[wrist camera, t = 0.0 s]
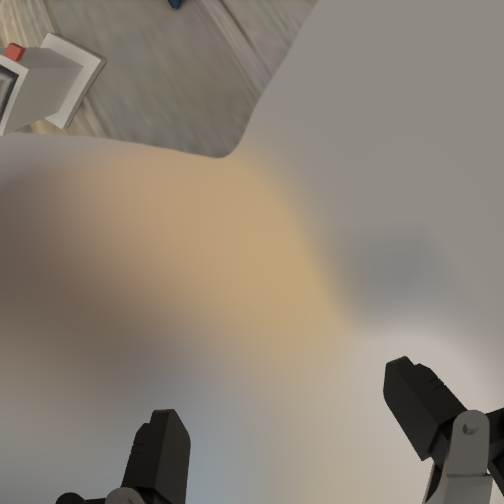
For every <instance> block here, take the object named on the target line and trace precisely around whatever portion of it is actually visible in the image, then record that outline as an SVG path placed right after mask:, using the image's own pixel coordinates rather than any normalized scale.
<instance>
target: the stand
mask: <svg viewBox="0 0 504 504" xmlns="http://www.w3.org/2000/svg"><path fill="white" fill-rule="evenodd" d="M106 61H107V60H105V59H103V58H102V57H100V56H98V55H96V54H94V53H92V52H91V51H89V50H87V49H85V48H83V47H81V46H79V45H77V44H75V43H73V42H71V41H69V40H67V39H65V38H63V37H61V36H59V35H57V34H54V33H48V34H47V36H46V37H45V39H44V41H43V42H42V44H41V46H40V48H23V47H21V46H19V45H17V44H15V43H9V45H8V47H7V48H0V64H1V65H2V66H4V67H6V68H8V69H10V70H11V71H13V72H15V73H17V74H18V75H19V77H18V79H17V82H16V84H15V86H14V88H13V91H12V93H11V96H10V98H9V101H8V103H7V106H6V109H5V111H4V114H3V117H2V119H0V135H1V136H4V135H6V134H8V133H10V132H12V131H14V130H17V129H19V128H21V127H23V126H26V125H28V124H30V123H33V122H35V121H37V120H40V119H42V118H44V119H46V120H48V121H49V122H51V123H53V124H54V125H56V126H57V127H59V128H61V129H64V128H66V127H69V125H70V123H71V121H72V119H73V117H74V115H75V113H76V111H77V109H78V108H79V106H80V104H81V102H82V100H83V98H84V97H85V95H86V93H87V92H88V90H89V88H90V86H91V85H92V83H93V81H94V80H95V78H96V77H97V75H98V73H99V72H100V70H101V69H102V67H103V66H104V64H105V63H106Z"/></svg>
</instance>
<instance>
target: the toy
mask: <svg viewBox="0 0 504 504" xmlns="http://www.w3.org/2000/svg"><path fill="white" fill-rule="evenodd" d="M168 1H169V3H170V4H171V6H172V8H178V7H179V6H180V3H181V0H168Z"/></svg>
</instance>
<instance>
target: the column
mask: <svg viewBox="0 0 504 504" xmlns="http://www.w3.org/2000/svg"><path fill="white" fill-rule="evenodd" d="M18 77H19V75H18V74H17V73H15V72H13V71H11V70H10V69H8V68H6V67H4V66H2V65H1V64H0V119H2V117H3V114H4V111H5V109H6V106H7V103H8V101H9V98H10V96H11V93H12V91H13V88H14V86H15V84H16V82H17V79H18Z"/></svg>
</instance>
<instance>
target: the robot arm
mask: <svg viewBox="0 0 504 504" xmlns="http://www.w3.org/2000/svg"><path fill="white" fill-rule="evenodd" d="M383 394H384V398H385V401H386V403H387V405H388V407H389V408H390V410H391V411H392V413H393V415H394V416H395V418H396V419H397V421H398V423H399V424H400V426H401V428H402V429H403V431H404V432H405V434H406V436H407V437H408V439H409V441H410V442H411V444H412V446H413V447H414V449H415V451H416V452H417V454H418V456H419V457H420V459H421V461H424V460H425V459H427V458H429V457H432V459H433V460H434V462H433V465H432V470H431V474H430V478H429V482H428V485H427V489H426V492H425V496H424V499H423V502H422V504H489V502H490V496H491V489H492V482H493V480H492V477H493V479H494V480H495V482H496V484H497V485H498V487H499V489H500V491H501V493H502V494H503V496H504V408H501V409H499V410H496V411H493V412H490V413H486V414H484V413H482V412H480V411H478V410H467V409H466V408H465V407H464V406H463V405H462V403H461V402H460V401H459V400H458V399H457V398H456V397H455V395H454V394H453V393H452V392H451V391H450V390H449V389H448V388H447V386H446V385H444V383H443V382H442V381H441V380H440V379H438V377H437V375H436V374H435V373H434V372H433V371H432V370H431V369H430V368H428V367H426V366H424V365H422V364H420V363H419V364H417V365H414V364H413V363H412V362H411V361H410V360H409V358H408V357H406V356H403V357H401V358H398V359H396V360H393V361H390V362H388V363H387V364H386V369H385V379H384V388H383ZM133 444H134V445H133V446H132V449H131V454H130V456H129V460H128V463H127V467H126V470H125V474H124V478H123V481H122V485H121V487H120V488H117V489H115V490H113V491H111V492H110V493H109V494H108V496H107V497H106V498H100V499H90V500H85V499H83V498H82V497H80V496H79V495H78V494H76V493H65V494H63V495H61V496H60V497H59V498H58V500H57V501H56V504H185V499H186V487H187V477H188V476H187V475H188V466H189V457H190V447H191V444H190V437H189V434H188V432H187V430H186V428H185V427H184V425H183V423H182V422H181V420H180V418H179V416H178V414H177V413H176V411H175V410H174V409H166V410H154V411H153V413H152V416H151V420H150V423H144V424H143V425H142V426H141V428H140V429H139V430H138V431H137V433H136V436H135V439H134V442H133ZM487 469H488V470H489V472H490V474H488V473H487Z"/></svg>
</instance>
